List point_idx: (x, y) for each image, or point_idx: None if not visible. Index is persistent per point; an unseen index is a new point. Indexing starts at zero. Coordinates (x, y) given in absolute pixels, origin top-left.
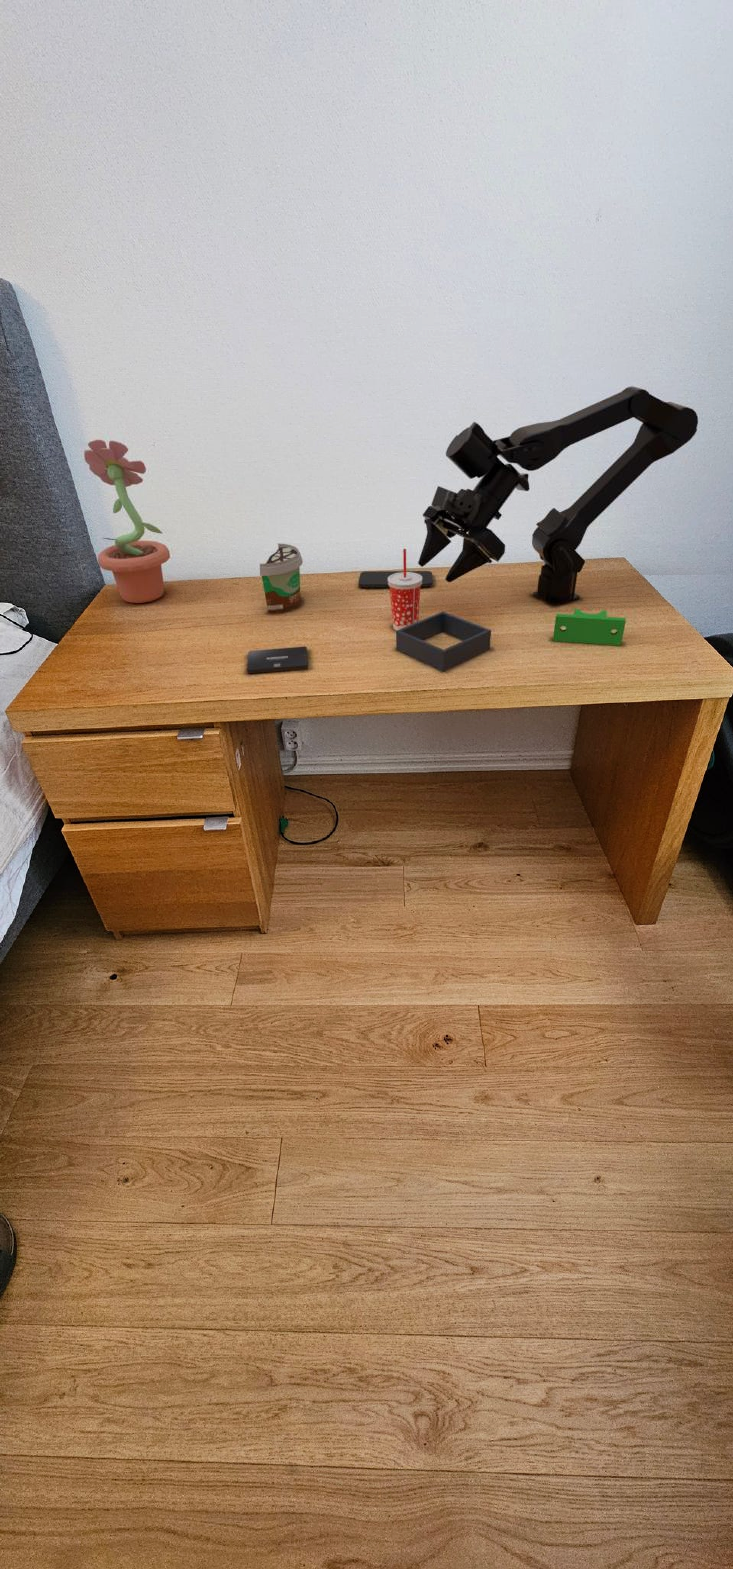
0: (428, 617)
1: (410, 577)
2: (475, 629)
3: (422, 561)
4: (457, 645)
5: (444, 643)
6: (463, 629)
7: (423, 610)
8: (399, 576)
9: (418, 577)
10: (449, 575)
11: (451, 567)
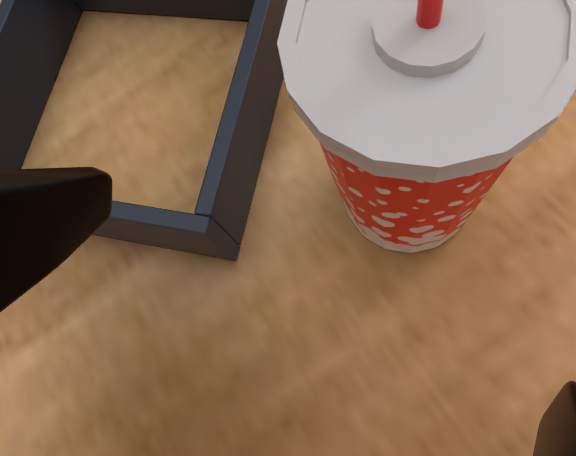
0: (231, 128)
1: (380, 37)
2: None
3: (560, 425)
4: (2, 2)
5: (165, 159)
6: None
7: (463, 420)
8: (479, 1)
9: (349, 117)
10: (52, 168)
11: (10, 185)
